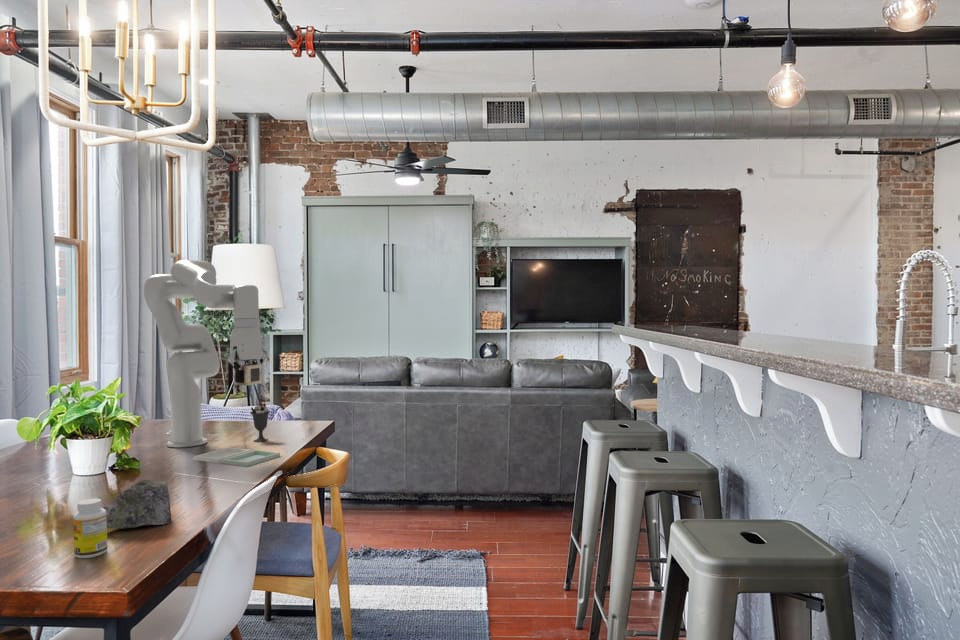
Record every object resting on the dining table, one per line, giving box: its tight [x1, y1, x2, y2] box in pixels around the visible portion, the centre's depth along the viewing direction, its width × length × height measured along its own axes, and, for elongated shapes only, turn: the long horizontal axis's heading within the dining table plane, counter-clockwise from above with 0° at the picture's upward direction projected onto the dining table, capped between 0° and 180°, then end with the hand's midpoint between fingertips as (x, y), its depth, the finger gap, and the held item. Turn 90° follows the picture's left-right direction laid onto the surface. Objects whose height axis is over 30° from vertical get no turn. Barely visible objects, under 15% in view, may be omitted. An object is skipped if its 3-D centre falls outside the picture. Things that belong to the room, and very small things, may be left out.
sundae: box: [250, 397, 271, 443], centre depth 237 cm, size 7×7×15 cm
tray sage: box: [221, 449, 281, 467], centre depth 206 cm, size 10×14×2 cm
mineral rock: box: [102, 478, 172, 530], centre depth 147 cm, size 13×11×10 cm
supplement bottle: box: [72, 498, 108, 559], centre depth 130 cm, size 6×6×10 cm
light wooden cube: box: [232, 363, 263, 386], centre depth 213 cm, size 6×6×6 cm
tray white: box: [193, 446, 253, 464], centre depth 211 cm, size 10×14×2 cm
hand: (247, 380), depth 214 cm, fingers closed on light wooden cube, 5 cm apart
